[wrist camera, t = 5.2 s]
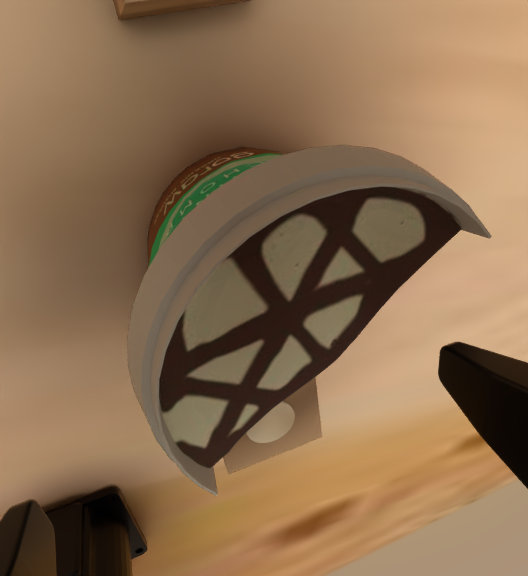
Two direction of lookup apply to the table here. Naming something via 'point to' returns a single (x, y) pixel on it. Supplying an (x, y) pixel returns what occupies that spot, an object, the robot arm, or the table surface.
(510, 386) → the robot arm
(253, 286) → the food container
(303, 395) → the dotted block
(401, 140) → the table surface
